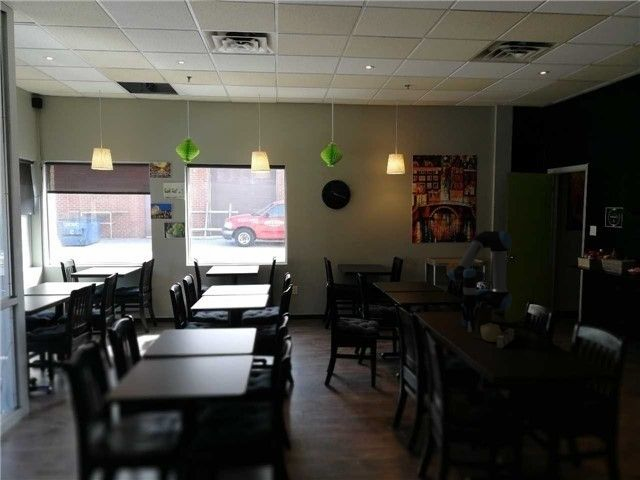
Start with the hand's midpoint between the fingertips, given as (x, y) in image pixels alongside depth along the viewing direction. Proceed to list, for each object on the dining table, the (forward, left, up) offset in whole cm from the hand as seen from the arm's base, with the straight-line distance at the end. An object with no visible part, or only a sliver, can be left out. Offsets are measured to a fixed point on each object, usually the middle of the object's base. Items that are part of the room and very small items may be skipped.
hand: (469, 331), depth 286 cm
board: (0, +21, -4) cm, 22 cm away
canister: (-17, +2, -4) cm, 17 cm away
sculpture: (0, +13, -4) cm, 14 cm away
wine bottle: (-30, -10, -4) cm, 32 cm away
